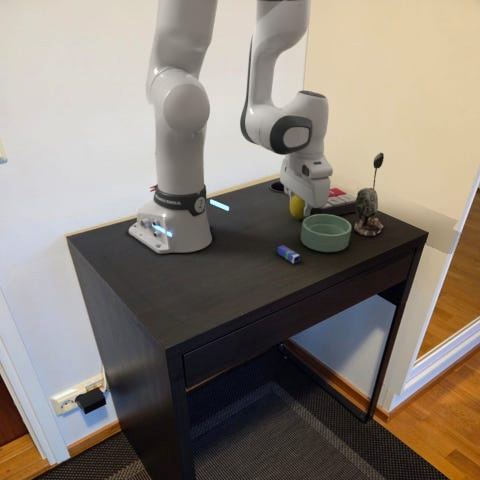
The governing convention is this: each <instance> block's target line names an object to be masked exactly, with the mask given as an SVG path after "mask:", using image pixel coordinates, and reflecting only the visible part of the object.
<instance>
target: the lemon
mask: <svg viewBox="0 0 480 480" xmlns="http://www.w3.org/2000/svg"><path fill="white" fill-rule="evenodd" d="M305 206H306V205H305V201H304V200H303V199H301V198H300V197H299V196H297V195H295V196H294V197H293V198H292V200H291V203H290V202H289V213H290V214H291V216H292V217H293V218H294V219H296V220H297V221H300V220H302V219H305V218H307V216H304V215H303V214H302V208H305Z"/></svg>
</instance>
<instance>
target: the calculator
mask: <svg viewBox="0 0 480 480" xmlns="http://www.w3.org/2000/svg"><path fill="white" fill-rule="evenodd" d="M356 198H357V197H355V196H353V195H351V194H349V193H347V192H345V191H344V190H341V189H339V188H337V187H333V188H330V191H329V197H328V202H327V204H326V205H325V206H324V207H320V208H313V207H312V209H311V211H310V215H309V216H312V215H316V214H328V215H335V216H342V215H346V214H347V215H348V214H351V213H356V211H355V203H356Z"/></svg>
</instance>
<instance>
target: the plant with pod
mask: <svg viewBox="0 0 480 480" xmlns="http://www.w3.org/2000/svg"><path fill="white" fill-rule="evenodd" d="M384 158H385V155H384V153H383V152H379V153H377V154H376V155H375V157H374V159H373V162H372V163H373V168H374V176H373V183H372V184H373V185H372V186H373V187H365V188H362V189H360V190H359V187H357V190H358V192H357V195H356V197H355V198H356V203H355V211H356V212H355V215H357V216H358V221H356V222H355V223H354V226H353V230H354V232H356V233H357V234H359V235H362V236H366V237H373V236H377V235H378V234H379V233H381V231H382V230H383V227H385V226H384V225H383V223H381V221H379V218H378V217H375V216H376V215H377V213H378V208H379V199H378V193H377V190H375V185H376V176H377V171H378V169H380V168H381V167H382V165H383V162H384ZM373 217H374V218H373Z"/></svg>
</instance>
